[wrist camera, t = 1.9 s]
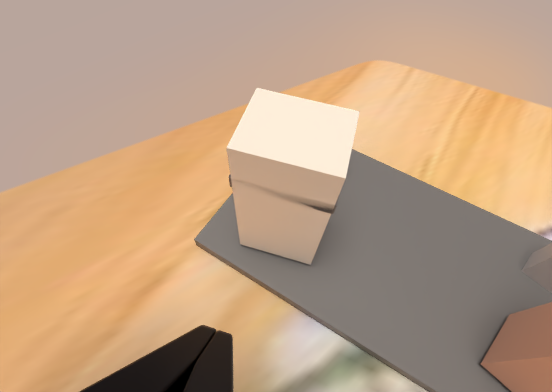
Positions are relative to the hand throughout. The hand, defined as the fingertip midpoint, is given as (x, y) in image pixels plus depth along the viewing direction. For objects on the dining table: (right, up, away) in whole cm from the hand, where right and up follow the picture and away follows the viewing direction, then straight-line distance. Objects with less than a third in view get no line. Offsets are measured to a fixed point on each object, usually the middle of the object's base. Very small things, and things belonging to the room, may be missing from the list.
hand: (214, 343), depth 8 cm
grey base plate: (+11, -1, +15) cm, 18 cm away
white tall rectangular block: (+2, +1, +14) cm, 14 cm away
